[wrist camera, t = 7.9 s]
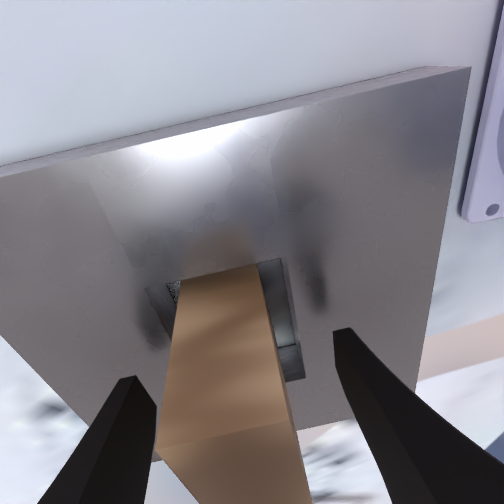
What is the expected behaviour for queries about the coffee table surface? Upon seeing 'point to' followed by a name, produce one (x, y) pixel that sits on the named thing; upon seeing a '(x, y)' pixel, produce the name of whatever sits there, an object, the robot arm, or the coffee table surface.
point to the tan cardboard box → (229, 397)
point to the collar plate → (236, 235)
